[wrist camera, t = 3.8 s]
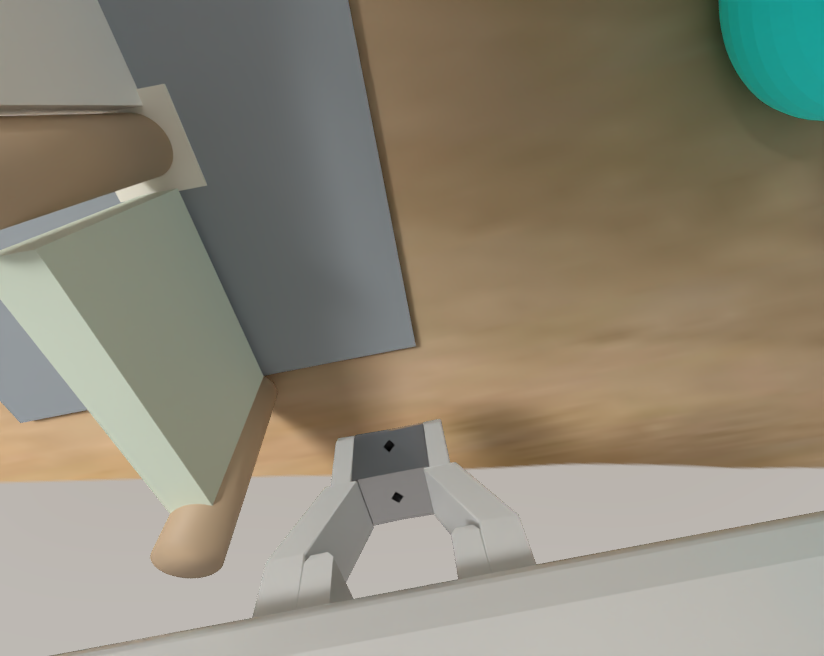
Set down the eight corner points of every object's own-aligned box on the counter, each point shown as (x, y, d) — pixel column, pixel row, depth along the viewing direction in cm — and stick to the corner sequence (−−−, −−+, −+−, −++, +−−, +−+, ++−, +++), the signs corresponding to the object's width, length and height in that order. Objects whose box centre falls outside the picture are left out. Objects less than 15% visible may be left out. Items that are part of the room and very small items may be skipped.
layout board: (-672, -346, 7) (-725, -369, 7) (244, -529, 7) (238, -562, 7) (25, 418, 17) (18, 424, 16) (415, 342, 17) (416, 347, 16)
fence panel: (131, 197, 12) (-105, 287, 6) (186, 186, 12) (6, 266, 6) (242, 411, 17) (170, 583, 11) (283, 403, 17) (234, 571, 11)
